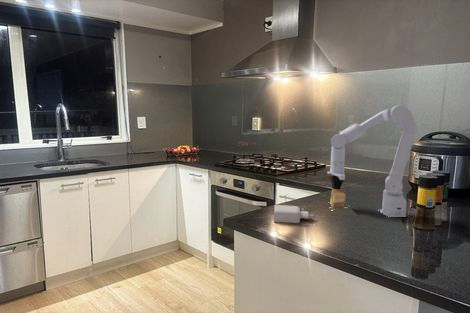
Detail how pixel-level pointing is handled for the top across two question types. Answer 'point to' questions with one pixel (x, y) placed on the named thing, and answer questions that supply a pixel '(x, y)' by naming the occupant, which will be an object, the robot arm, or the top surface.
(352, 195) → the top surface
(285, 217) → the white bottle
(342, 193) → the oak block
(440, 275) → the top surface
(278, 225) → the top surface
